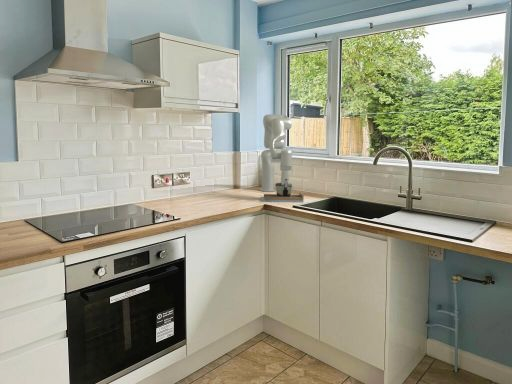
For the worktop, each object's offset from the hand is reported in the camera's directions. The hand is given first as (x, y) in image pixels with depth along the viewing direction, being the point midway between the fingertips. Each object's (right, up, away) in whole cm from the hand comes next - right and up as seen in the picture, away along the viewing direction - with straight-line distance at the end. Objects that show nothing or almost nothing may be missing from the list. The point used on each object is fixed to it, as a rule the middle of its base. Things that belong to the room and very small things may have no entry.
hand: (284, 194), depth 282 cm
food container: (0, -3, +1) cm, 3 cm away
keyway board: (-2, -4, 0) cm, 5 cm away
